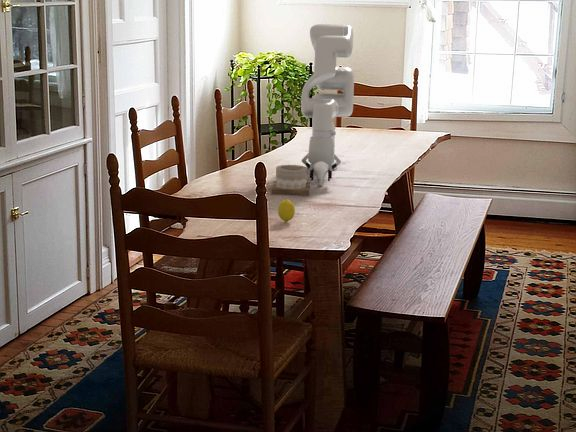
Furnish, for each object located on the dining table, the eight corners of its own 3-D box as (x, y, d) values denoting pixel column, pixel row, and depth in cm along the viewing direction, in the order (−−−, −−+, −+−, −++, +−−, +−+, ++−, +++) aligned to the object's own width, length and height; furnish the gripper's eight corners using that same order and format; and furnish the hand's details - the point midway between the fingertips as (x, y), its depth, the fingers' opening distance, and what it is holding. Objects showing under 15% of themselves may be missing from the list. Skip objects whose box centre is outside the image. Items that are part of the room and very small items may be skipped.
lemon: (294, 220, 311) (294, 197, 309) (294, 224, 305) (295, 201, 303) (277, 220, 310) (278, 197, 308) (277, 224, 305) (278, 201, 303)
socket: (273, 186, 358) (274, 163, 356) (309, 187, 358) (310, 164, 355) (270, 194, 345) (271, 171, 343) (308, 196, 344) (309, 172, 342)
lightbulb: (315, 188, 357) (315, 160, 354) (310, 184, 363) (311, 156, 360) (330, 187, 358) (331, 159, 356) (325, 184, 364) (326, 156, 361)
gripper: (344, 133, 358) (342, 178, 363) (300, 131, 359) (298, 177, 364) (344, 136, 351) (342, 183, 356) (299, 135, 352) (297, 181, 357)
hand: (320, 179), depth 360 cm, fingers closed on lightbulb, 5 cm apart
